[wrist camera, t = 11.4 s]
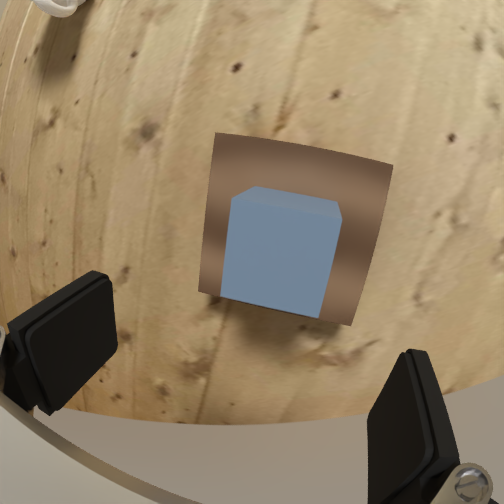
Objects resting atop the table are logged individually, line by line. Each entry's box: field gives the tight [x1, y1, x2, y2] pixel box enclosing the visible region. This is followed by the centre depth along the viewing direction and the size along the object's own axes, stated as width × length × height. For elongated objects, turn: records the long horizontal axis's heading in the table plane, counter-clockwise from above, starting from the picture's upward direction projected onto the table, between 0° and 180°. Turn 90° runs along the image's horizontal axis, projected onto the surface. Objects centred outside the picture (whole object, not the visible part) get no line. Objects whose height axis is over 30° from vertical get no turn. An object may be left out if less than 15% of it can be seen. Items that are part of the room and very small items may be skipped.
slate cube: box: [220, 186, 342, 318], centre depth 20 cm, size 6×6×6 cm
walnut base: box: [198, 132, 393, 326], centre depth 25 cm, size 13×13×4 cm
